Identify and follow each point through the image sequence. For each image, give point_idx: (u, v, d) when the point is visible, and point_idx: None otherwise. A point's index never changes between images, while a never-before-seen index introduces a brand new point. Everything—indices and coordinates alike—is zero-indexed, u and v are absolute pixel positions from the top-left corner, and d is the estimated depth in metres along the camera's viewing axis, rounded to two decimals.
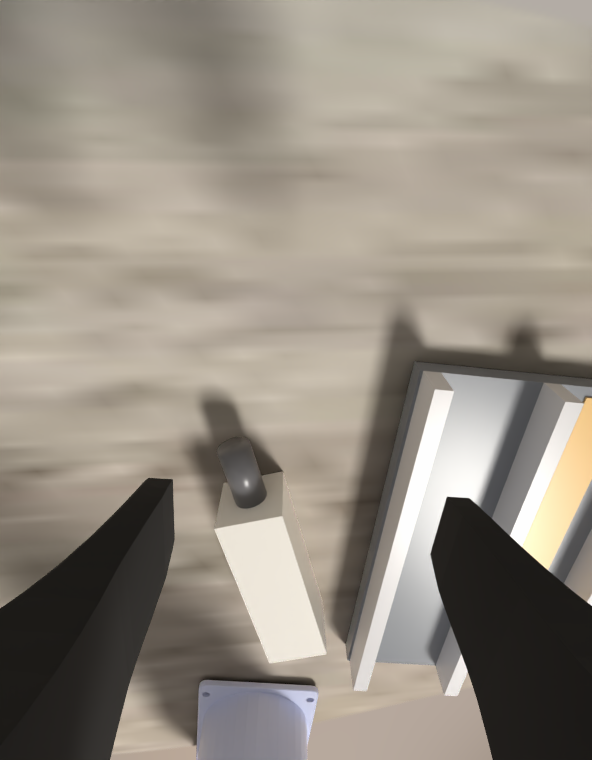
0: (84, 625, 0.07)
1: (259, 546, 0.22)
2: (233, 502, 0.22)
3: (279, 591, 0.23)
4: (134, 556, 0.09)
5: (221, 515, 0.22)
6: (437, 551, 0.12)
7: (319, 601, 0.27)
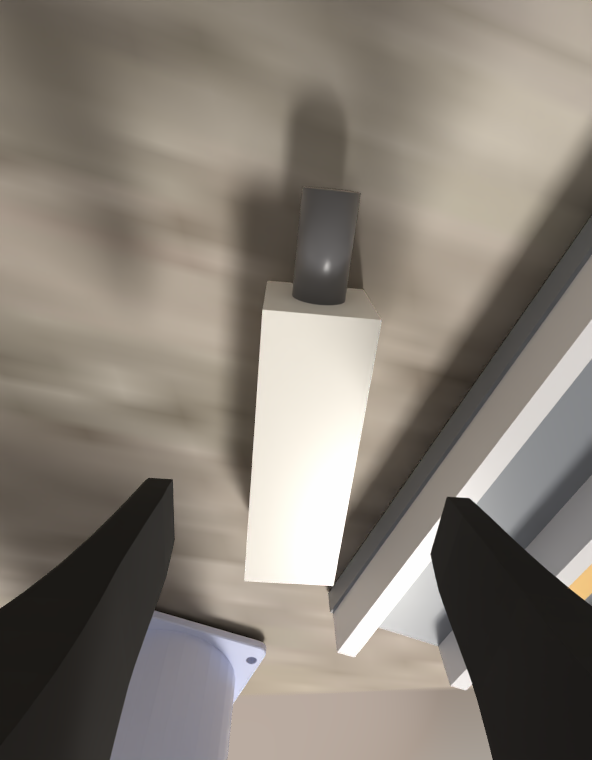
0: (84, 625, 0.07)
1: (321, 368, 0.13)
2: (290, 296, 0.14)
3: (314, 461, 0.14)
4: (134, 556, 0.09)
5: (272, 301, 0.13)
6: (437, 551, 0.12)
7: None
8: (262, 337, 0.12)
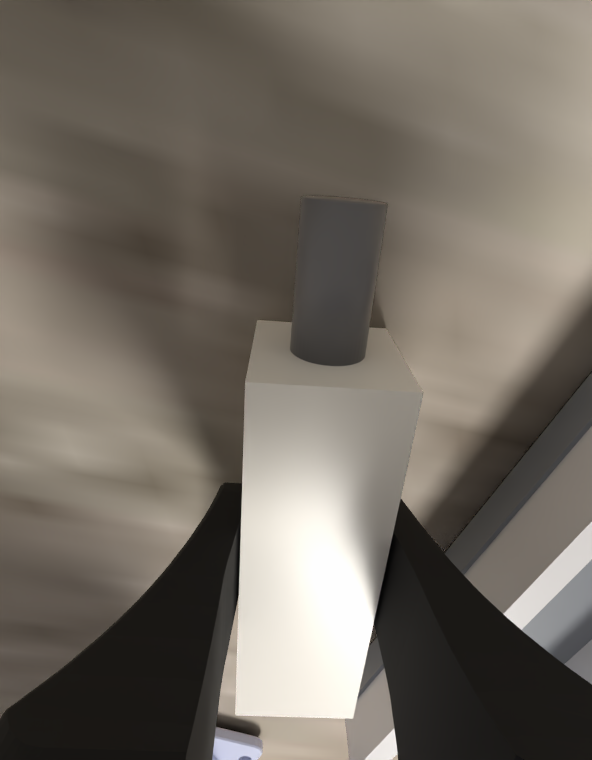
0: (212, 631, 0.07)
1: (333, 459, 0.09)
2: (287, 350, 0.10)
3: (325, 577, 0.10)
4: (230, 561, 0.09)
5: (260, 364, 0.09)
6: None
7: None
8: (246, 420, 0.08)
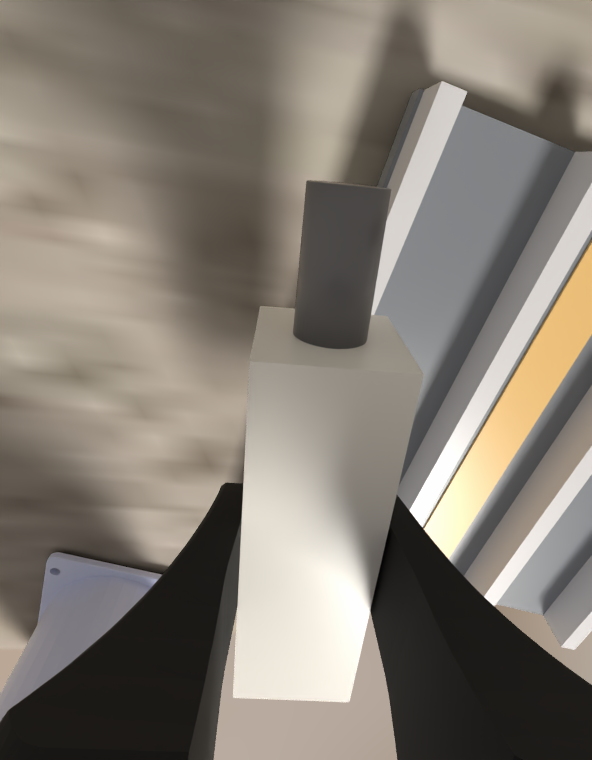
0: (213, 631, 0.07)
1: (334, 440, 0.09)
2: (290, 334, 0.10)
3: (324, 559, 0.10)
4: (232, 561, 0.09)
5: (264, 345, 0.09)
6: None
7: None
8: (250, 399, 0.09)
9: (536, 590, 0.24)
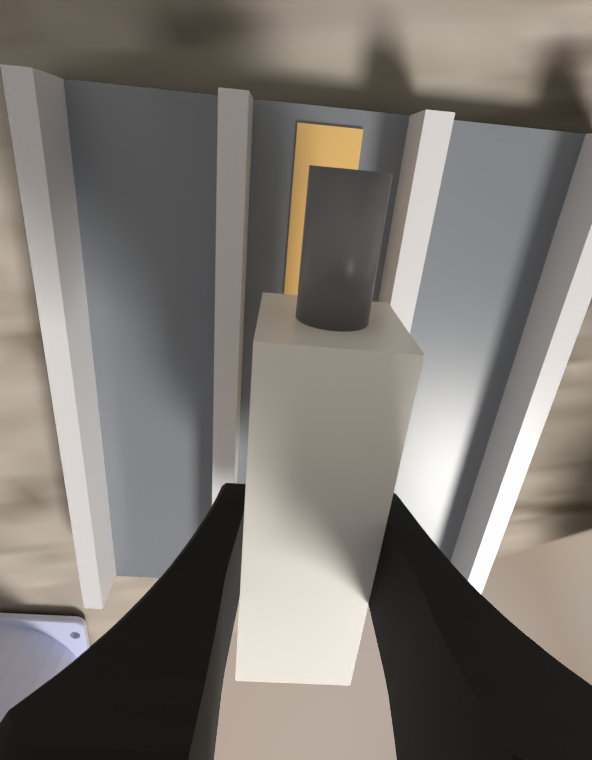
0: (214, 631, 0.07)
1: (336, 421, 0.09)
2: (292, 317, 0.10)
3: (326, 540, 0.11)
4: (232, 561, 0.09)
5: (267, 328, 0.09)
6: None
7: None
8: (253, 380, 0.09)
9: None
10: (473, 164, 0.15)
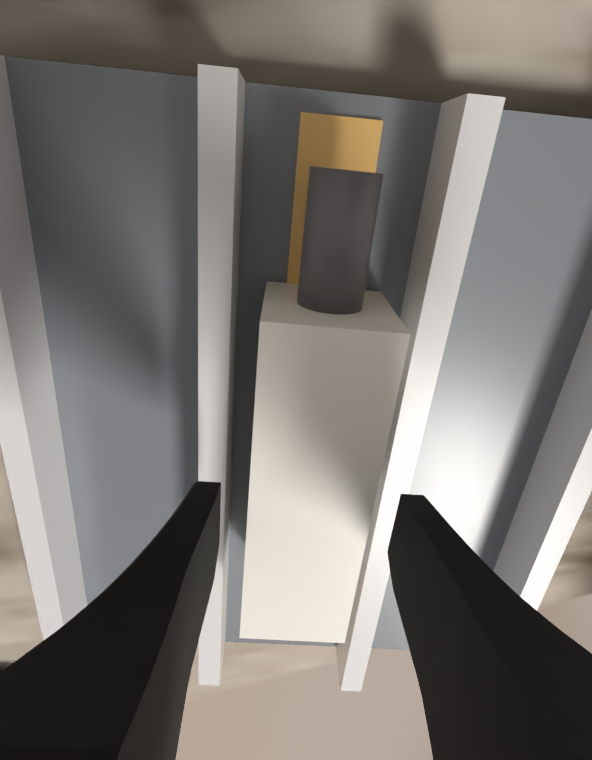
0: (166, 629, 0.07)
1: (332, 393, 0.10)
2: (294, 302, 0.11)
3: (323, 504, 0.12)
4: (196, 559, 0.09)
5: (272, 310, 0.10)
6: (392, 548, 0.12)
7: None
8: (259, 355, 0.10)
9: None
10: (518, 164, 0.12)
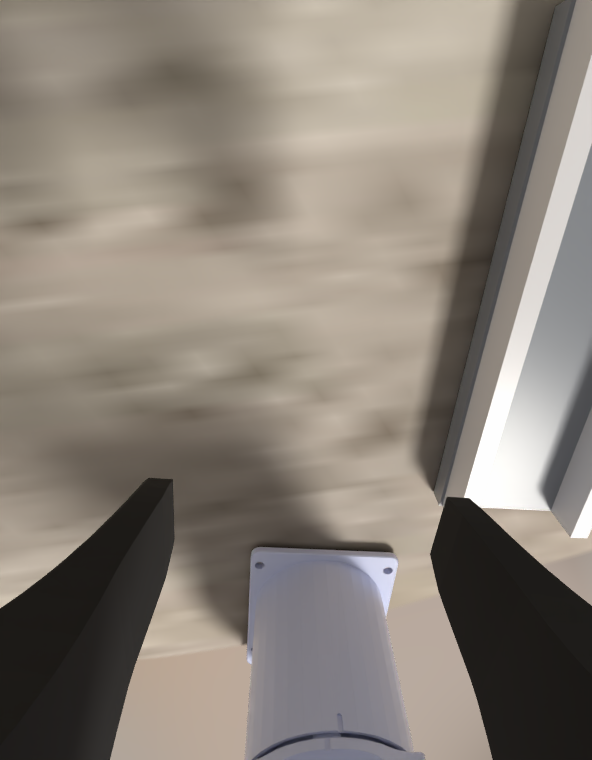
0: (84, 625, 0.07)
1: None
2: None
3: None
4: (134, 556, 0.09)
5: None
6: (437, 551, 0.12)
7: None
8: None
9: None
10: None
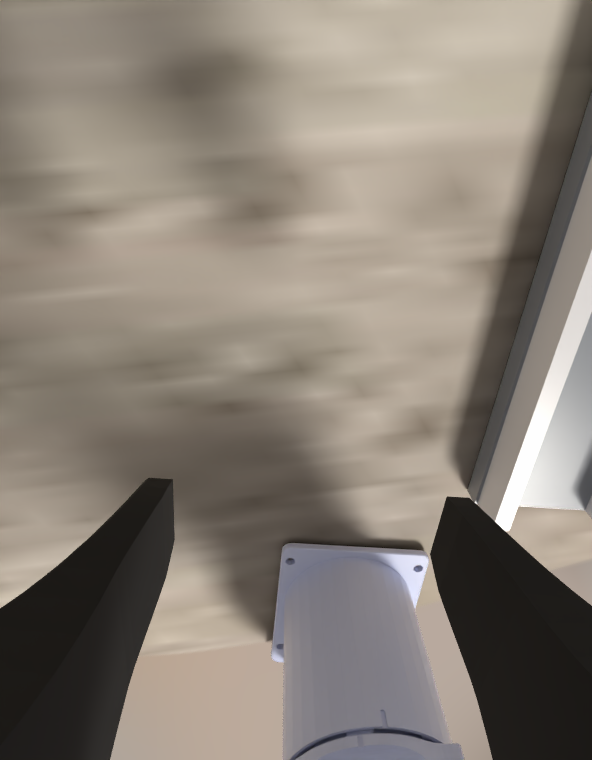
0: (84, 625, 0.07)
1: None
2: None
3: None
4: (134, 556, 0.09)
5: None
6: (437, 551, 0.12)
7: None
8: None
9: None
10: None
